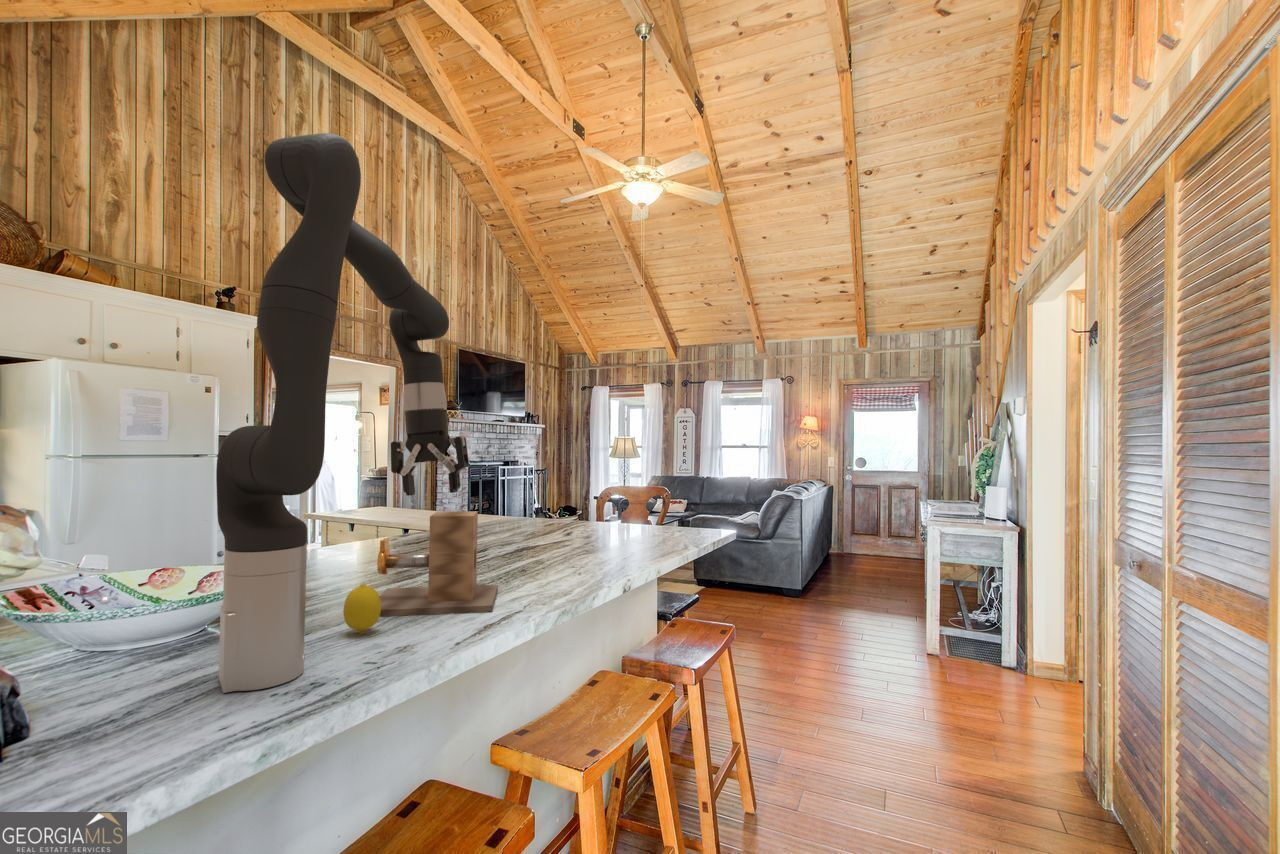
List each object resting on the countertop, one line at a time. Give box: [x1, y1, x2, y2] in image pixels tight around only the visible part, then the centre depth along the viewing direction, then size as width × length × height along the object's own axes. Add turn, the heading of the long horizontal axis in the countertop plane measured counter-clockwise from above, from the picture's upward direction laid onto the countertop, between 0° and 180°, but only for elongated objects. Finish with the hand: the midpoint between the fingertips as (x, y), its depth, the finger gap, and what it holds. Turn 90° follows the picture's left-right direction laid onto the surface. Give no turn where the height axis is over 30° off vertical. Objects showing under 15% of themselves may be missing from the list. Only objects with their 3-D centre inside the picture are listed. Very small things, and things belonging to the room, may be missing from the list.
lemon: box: [343, 583, 381, 634], centre depth 95 cm, size 6×6×8 cm
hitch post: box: [379, 510, 499, 618], centre depth 114 cm, size 22×16×17 cm
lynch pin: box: [376, 537, 429, 576], centre depth 113 cm, size 12×5×7 cm, turn 100°
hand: (432, 493), depth 110 cm, fingers open, 8 cm apart
